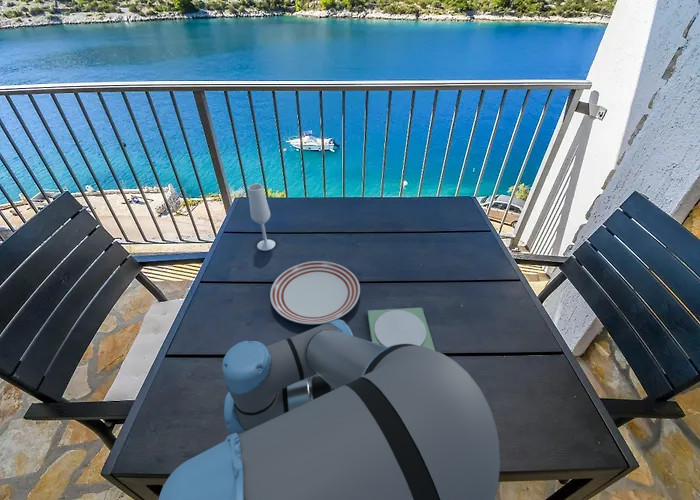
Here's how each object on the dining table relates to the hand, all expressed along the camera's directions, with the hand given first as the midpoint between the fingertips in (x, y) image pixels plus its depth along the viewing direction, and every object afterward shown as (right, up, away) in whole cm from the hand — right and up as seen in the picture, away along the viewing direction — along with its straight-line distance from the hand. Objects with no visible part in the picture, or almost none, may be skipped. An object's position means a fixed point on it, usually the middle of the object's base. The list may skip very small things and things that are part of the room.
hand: (426, 378), depth 68 cm
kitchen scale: (-1, +1, +27) cm, 27 cm away
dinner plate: (-26, +11, +40) cm, 49 cm away
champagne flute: (-46, +27, +61) cm, 81 cm away
